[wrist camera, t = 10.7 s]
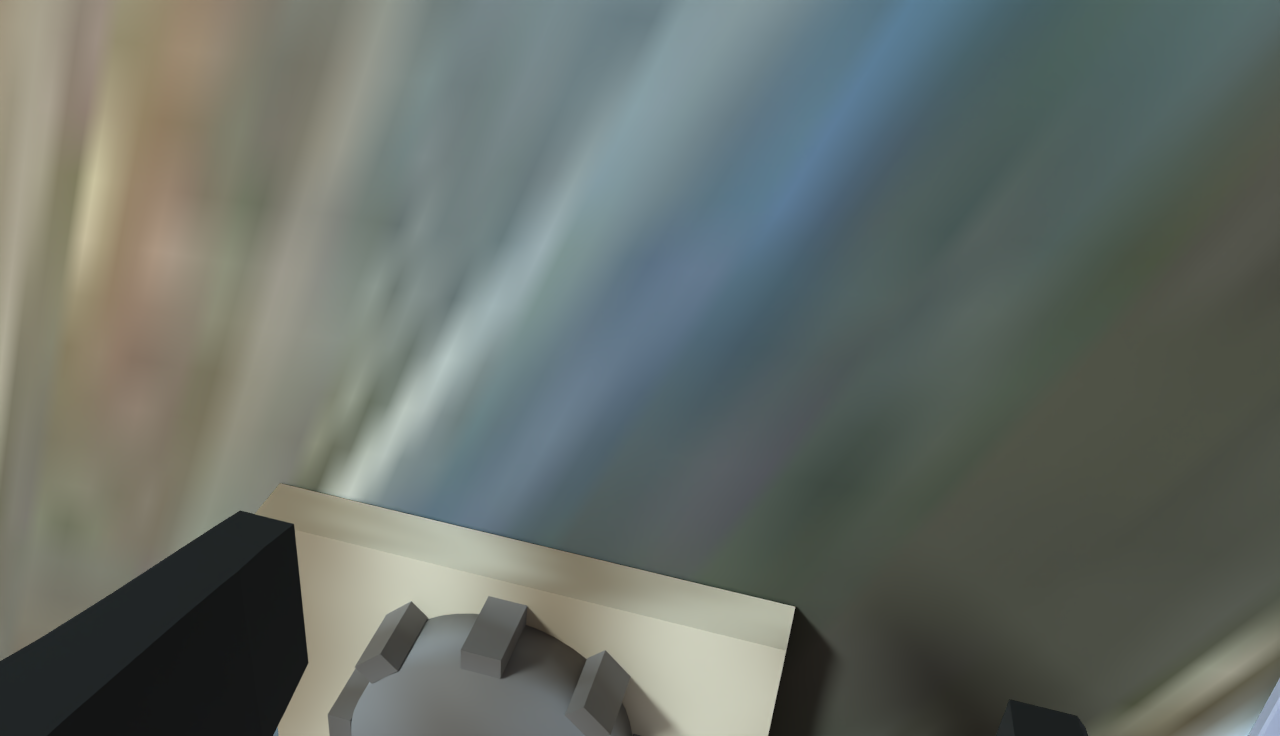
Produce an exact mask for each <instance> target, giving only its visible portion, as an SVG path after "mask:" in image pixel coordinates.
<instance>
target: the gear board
mask: <svg viewBox="0 0 1280 736" xmlns="http://www.w3.org/2000/svg"><path fill="white" fill-rule="evenodd" d="M255 514H256V515H260V516H264V517H268V518H272V519H276V520H280V521H284V522H288V523H293V524H294V527H295V537H296V547H297V556H298V566H299V576H300V585H301V595H302V605H303V614H304V624H305V633H306V643H307V653H308V662H309V663H308V665H307V667H306V669H305V671H304V674H303V676H302V678H301V680H300V682H299V684H298V686H297V688H296V690H295V692H294V694H293V696H292V698H291V701H290V703H289V705H288V707H287V709H286V711H285V713H284V715H283V717H282V719H281V721H280V723H279V724H278V733H279V736H768V734H769V729H770V725H771V720H772V715H773V710H774V706H775V701H776V696H777V692H778V687H779V682H780V678H781V673H782V668H783V664H784V659H785V654H786V650H787V645H788V640H789V635H790V630H791V626H792V621H793V616H794V611H795V607H794V606H790V605H786V604H781V603H777V602H773V601H769V600H765V599H761V598H756V597H752V596H748V595H744V594H740V593H736V592H731V591H727V590H723V589H719V588H715V587H711V586H706V585H702V584H698V583H694V582H690V581H686V580H681V579H677V578H673V577H669V576H665V575H661V574H656V573H652V572H648V571H644V570H640V569H636V568H631V567H627V566H623V565H619V564H615V563H610V562H606V561H602V560H598V559H594V558H590V557H585V556H581V555H577V554H573V553H569V552H565V551H560V550H556V549H552V548H548V547H544V546H540V545H535V544H531V543H527V542H523V541H519V540H515V539H510V538H506V537H502V536H498V535H494V534H490V533H485V532H481V531H477V530H473V529H469V528H465V527H460V526H456V525H452V524H448V523H444V522H440V521H435V520H431V519H427V518H423V517H419V516H415V515H410V514H406V513H402V512H398V511H394V510H390V509H385V508H381V507H377V506H373V505H369V504H364V503H360V502H356V501H352V500H348V499H344V498H339V497H335V496H331V495H327V494H323V493H319V492H314V491H310V490H306V489H302V488H298V487H294V486H289V485H285V484H281V483H280V484H279V485H278V486H277V487H276V489H275V490H274V491H273V492H272V494H271V495H270V496H269V497H268V498H267V500H266V501H265V502H264V503H263V504H262V506H261V507H260V508H259V509H258V511H257V512H256V513H255Z"/></svg>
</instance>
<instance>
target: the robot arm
mask: <svg viewBox="0 0 1280 736" xmlns="http://www.w3.org/2000/svg"><path fill="white" fill-rule="evenodd" d="M308 663H309V662H308V653H307V643H306V633H305V624H304V614H303V605H302V595H301V585H300V576H299V566H298V556H297V547H296V537H295V527H294V524H293V523H288V522H284V521H280V520H276V519H272V518H268V517H264V516H260V515H256V514H252V513H248V512H244V511H239V512H237V513H236V514H234V515H232V516H231V517H229V518H228V519H226V520H224V521H223V522H221V523H220V524H218V525H217V526H215V527H213V528H212V529H210V530H209V531H207V532H206V533H204V534H203V535H201V536H199V537H198V538H196V539H195V540H193V541H192V542H190V543H189V544H187V545H186V546H184V547H182V548H181V549H179V550H178V551H176V552H175V553H173V554H172V555H170V556H169V557H167V558H166V559H164V560H162V561H161V562H159V563H158V564H156V565H155V566H153V567H152V568H150V569H149V570H147V571H146V572H144V573H143V574H141V575H139V576H138V577H136V578H135V579H133V580H132V581H130V582H129V583H127V584H126V585H124V586H122V587H121V588H119V589H118V590H116V591H115V592H113V593H112V594H110V595H108V596H107V597H105V598H104V599H102V600H101V601H99V602H97V603H96V604H94V605H93V606H91V607H89V608H88V609H86V610H85V611H83V612H81V613H80V614H78V615H77V616H75V617H73V618H72V619H70V620H69V621H67V622H65V623H64V624H62V625H61V626H59V627H57V628H56V629H54V630H53V631H51V632H49V633H48V634H46V635H45V636H43V637H41V638H40V639H38V640H36V641H35V642H33V643H31V644H29V645H28V646H26V647H24V648H23V649H21V650H19V651H17V652H16V653H14V654H12V655H10V656H9V657H7V658H5V659H3V660H2V661H0V736H273V734H274V732H275V730H276V728H277V726H278V724H279V723H280V721H281V719H282V717H283V715H284V713H285V711H286V709H287V707H288V705H289V703H290V701H291V698H292V696H293V694H294V692H295V690H296V688H297V686H298V684H299V682H300V680H301V678H302V676H303V674H304V671H305V669H306V667H307V665H308ZM996 736H1088V734H1087V731H1086V728H1085V726H1084V725H1083V724H1082V722H1081V721H1080V719H1079V718H1078V717H1077V716H1075V715H1071V714H1067V713H1063V712H1059V711H1055V710H1051V709H1047V708H1043V707H1038V706H1034V705H1030V704H1026V703H1022V702H1018V701H1014V700H1010V699H1009V702H1008V704H1007V707H1006V710H1005V713H1004V715H1003V718H1002V721H1001V723H1000V726H999V729H998V731H997V734H996ZM1248 736H1280V679H1279V680H1278V682H1277V684H1276V686H1275V688H1274V689H1273V691H1272V693H1271V695H1270V697H1269V699H1268V700H1267V702H1266V704H1265V706H1264V708H1263V709H1262V711H1261V713H1260V715H1259V717H1258V719H1257V720H1256V722H1255V724H1254V726H1253V728H1252V729H1251V731H1250V733H1249V735H1248Z"/></svg>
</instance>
